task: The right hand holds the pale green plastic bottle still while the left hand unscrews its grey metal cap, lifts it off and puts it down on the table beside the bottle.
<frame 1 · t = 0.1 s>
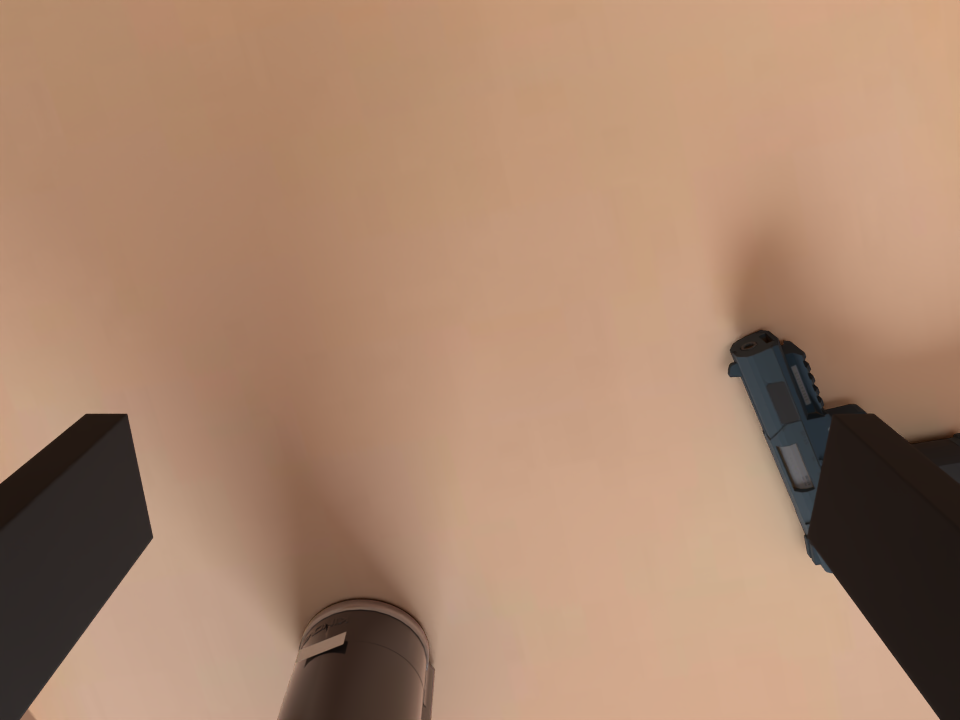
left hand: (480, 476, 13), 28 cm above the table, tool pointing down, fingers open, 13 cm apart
handgun: (849, 421, 44), on the table
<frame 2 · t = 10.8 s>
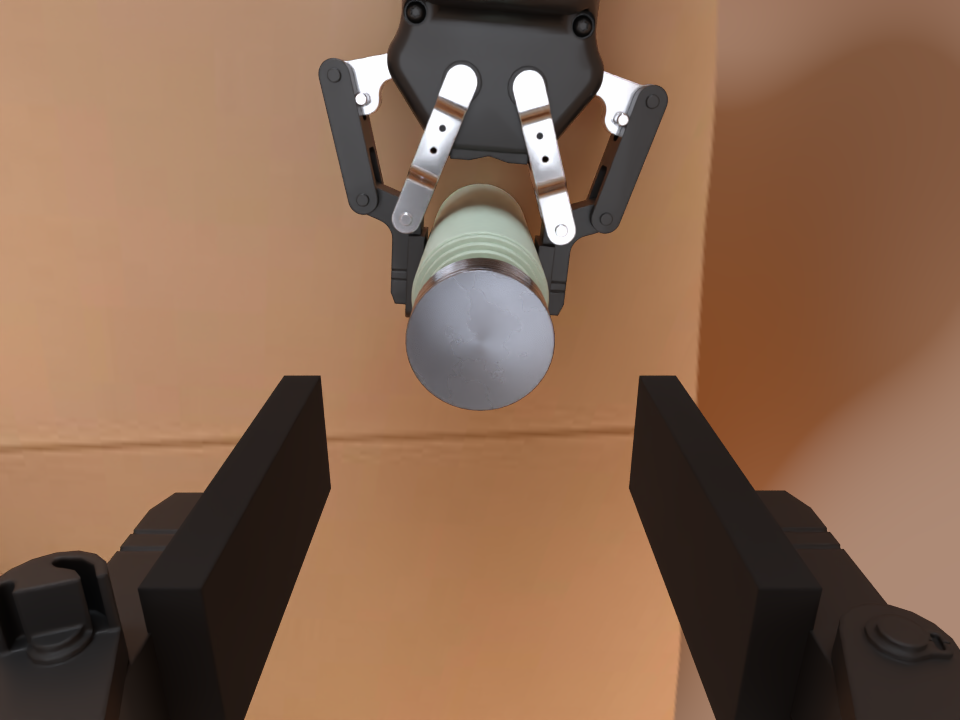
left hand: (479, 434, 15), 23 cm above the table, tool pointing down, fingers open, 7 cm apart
right hand: (476, 315, 31), fingers closed on bottle, 5 cm apart
cap: (480, 340, 20), point 17 cm above the table, screwed on, not yet turned
bottle: (480, 230, 36), on the table, touching right hand
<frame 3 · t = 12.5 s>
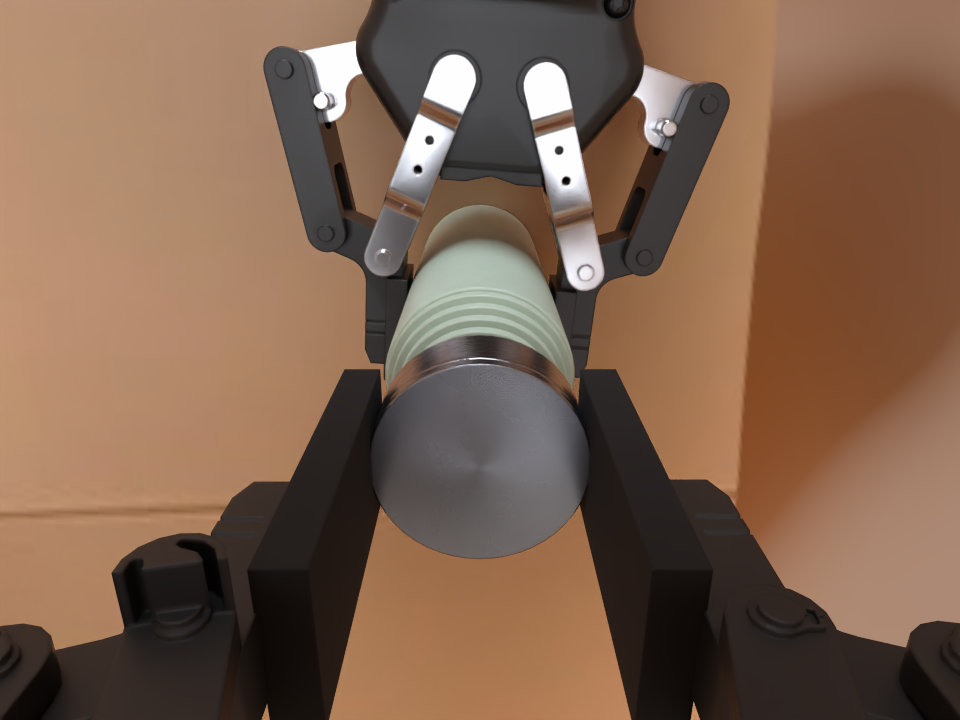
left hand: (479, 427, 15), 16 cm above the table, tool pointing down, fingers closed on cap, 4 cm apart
right hand: (475, 376, 24), fingers closed on bottle, 5 cm apart
cap: (479, 459, 14), point 17 cm above the table, screwed on, not yet turned, touching left hand
bottle: (479, 261, 29), on the table, touching right hand
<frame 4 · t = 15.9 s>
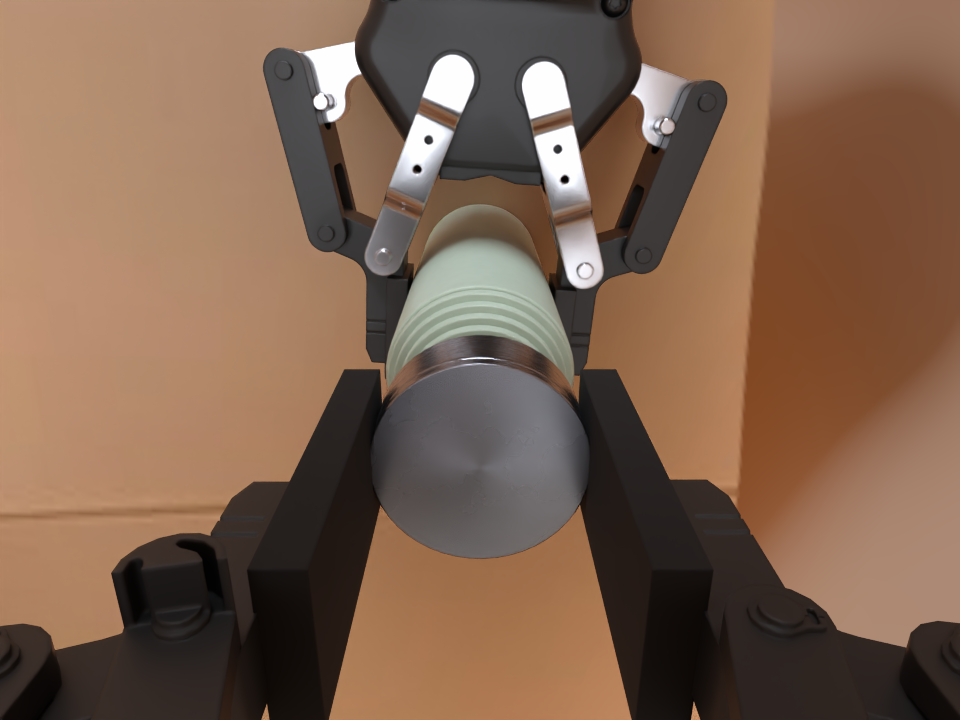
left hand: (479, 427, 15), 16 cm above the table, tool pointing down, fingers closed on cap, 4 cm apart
right hand: (475, 374, 24), fingers closed on bottle, 5 cm apart
cap: (480, 459, 14), point 17 cm above the table, turned 99° so far, risen 0.1 cm, still on its thread, touching left hand
bottle: (479, 260, 30), on the table, touching right hand
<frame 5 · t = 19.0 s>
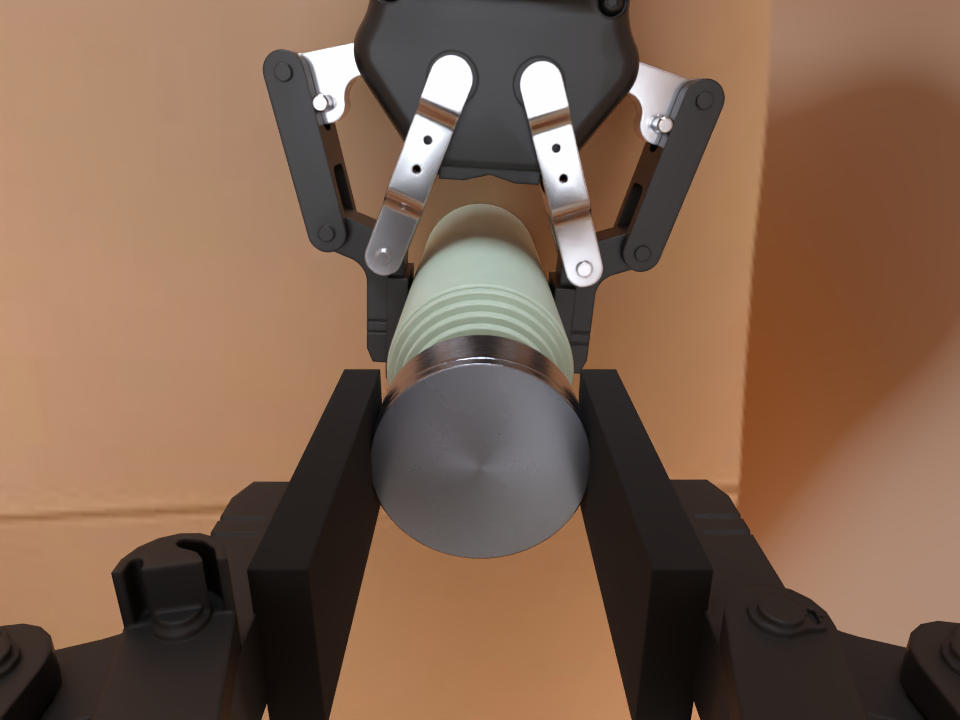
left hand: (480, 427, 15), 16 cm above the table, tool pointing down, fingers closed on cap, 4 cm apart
right hand: (476, 373, 25), fingers closed on bottle, 5 cm apart
cap: (480, 459, 14), point 17 cm above the table, turned 198° so far, risen 0.2 cm, still on its thread, touching left hand
bottle: (480, 259, 30), on the table, touching right hand
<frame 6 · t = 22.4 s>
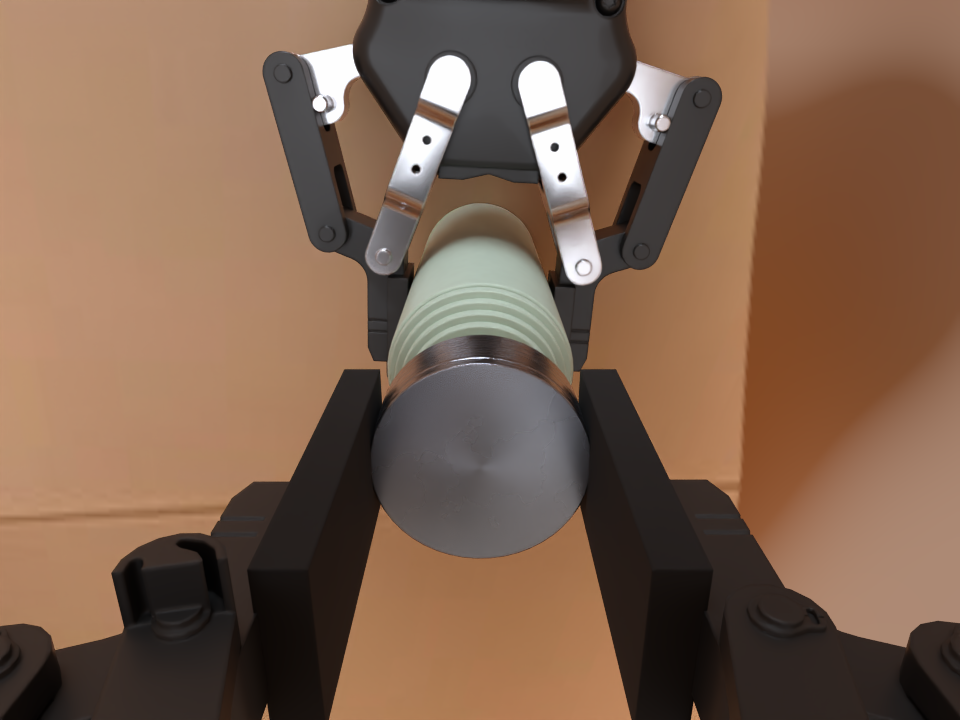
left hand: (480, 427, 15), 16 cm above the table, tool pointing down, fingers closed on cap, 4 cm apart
right hand: (477, 372, 25), fingers closed on bottle, 5 cm apart
cap: (480, 459, 14), point 17 cm above the table, turned 297° so far, risen 0.3 cm, still on its thread, touching left hand
bottle: (480, 259, 30), on the table, touching right hand
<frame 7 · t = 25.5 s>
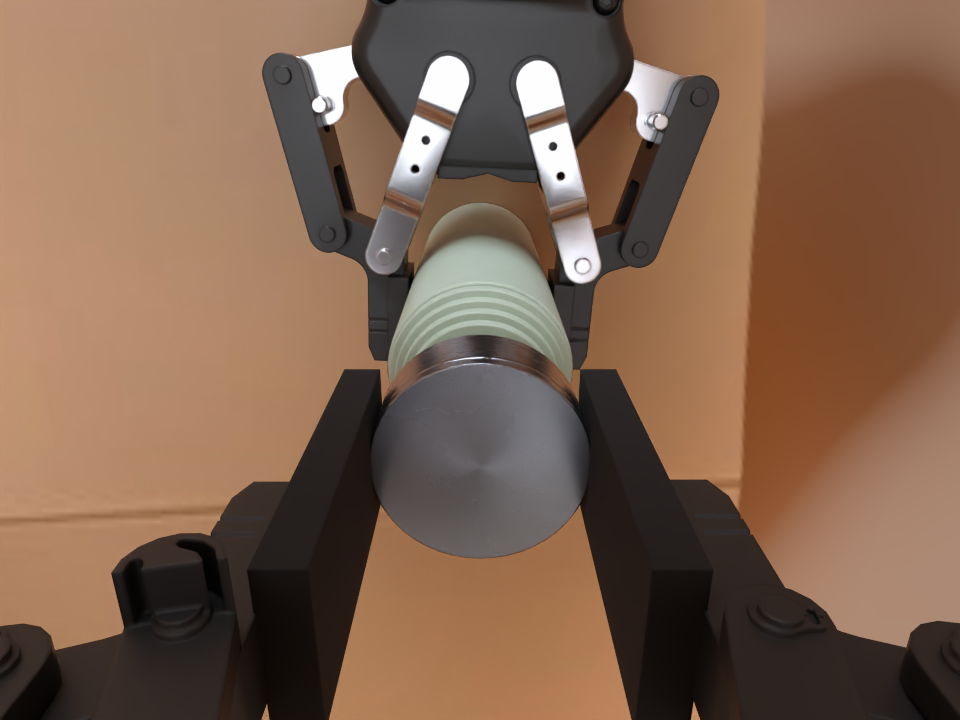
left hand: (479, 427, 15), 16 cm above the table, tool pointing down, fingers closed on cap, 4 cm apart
right hand: (477, 370, 25), fingers closed on bottle, 5 cm apart
cap: (480, 459, 14), point 18 cm above the table, turned 396° so far, risen 0.5 cm, still on its thread, touching left hand
bottle: (480, 258, 30), on the table, touching right hand
when the left hand's fingers open (1 cm above the table, at t = 31.1 s): cap drops 1 cm, point 1 cm above the table.
when the right hand's fingers open (7 cm above the table, at t = 32.4 s): bottle stays where it is, on the table.
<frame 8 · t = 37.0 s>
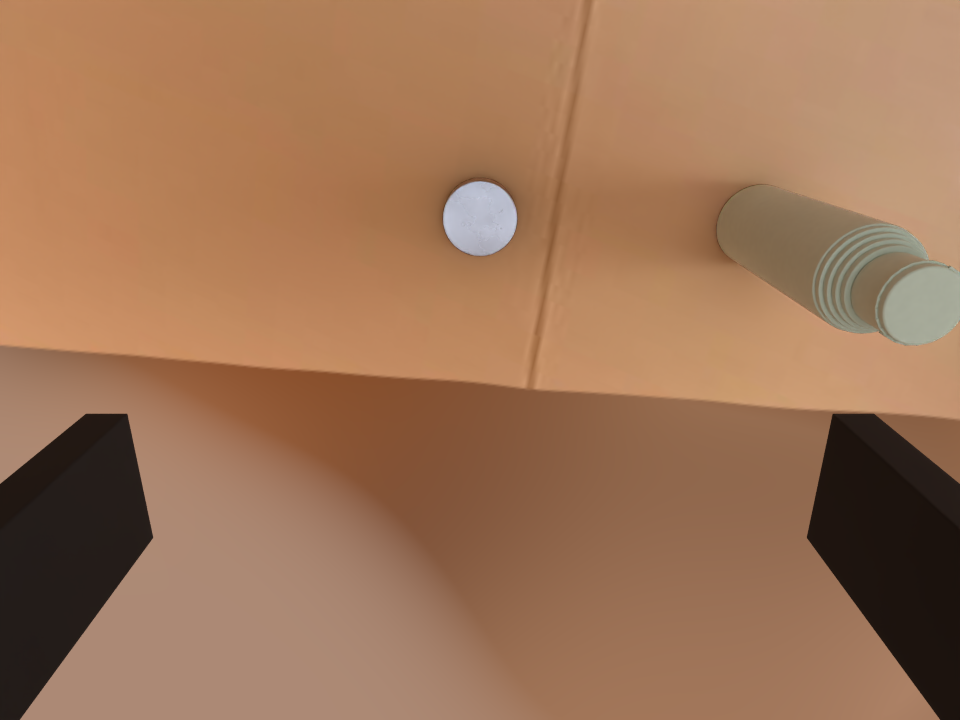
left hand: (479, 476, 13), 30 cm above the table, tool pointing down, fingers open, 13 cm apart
cap: (480, 218, 40), point 1 cm above the table, off its thread
bottle: (756, 225, 42), on the table
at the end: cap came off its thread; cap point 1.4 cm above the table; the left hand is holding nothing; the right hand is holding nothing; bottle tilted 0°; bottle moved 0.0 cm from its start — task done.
